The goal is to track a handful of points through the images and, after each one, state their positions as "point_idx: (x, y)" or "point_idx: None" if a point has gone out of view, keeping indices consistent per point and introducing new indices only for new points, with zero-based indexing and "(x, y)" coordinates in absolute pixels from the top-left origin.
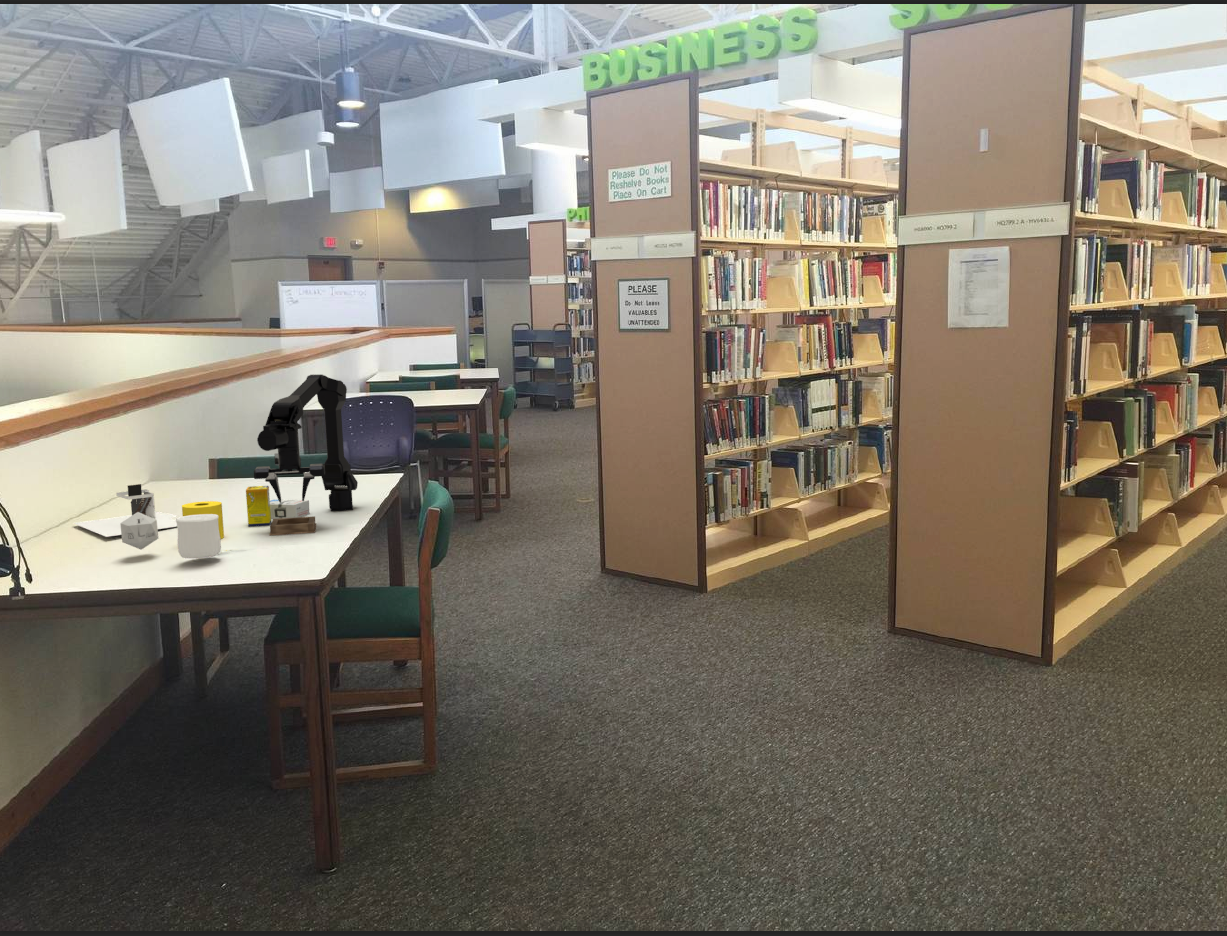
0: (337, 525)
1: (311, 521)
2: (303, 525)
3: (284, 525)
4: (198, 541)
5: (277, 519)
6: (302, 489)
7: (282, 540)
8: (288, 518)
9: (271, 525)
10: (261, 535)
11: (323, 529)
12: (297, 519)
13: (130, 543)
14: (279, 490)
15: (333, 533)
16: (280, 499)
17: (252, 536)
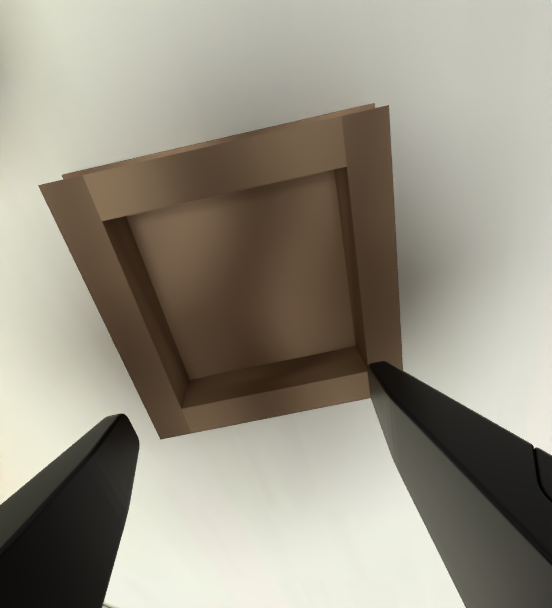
0: (518, 160)
1: (384, 328)
2: (344, 397)
3: (239, 422)
4: None
5: (95, 223)
6: (462, 598)
7: (271, 488)
8: (173, 186)
9: (158, 419)
10: (123, 400)
11: (429, 284)
12: (250, 187)
13: None
14: (41, 594)
15: (481, 384)
16: (131, 485)
17: (87, 416)
